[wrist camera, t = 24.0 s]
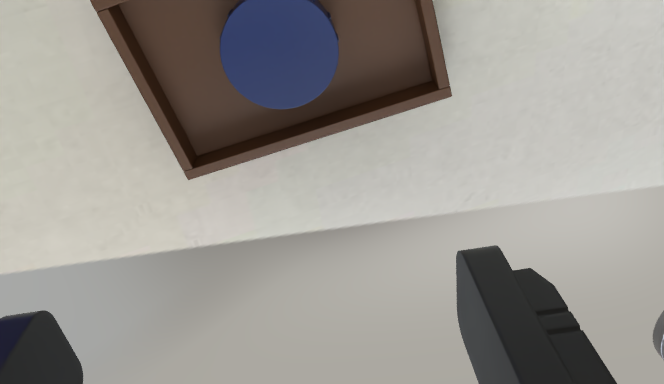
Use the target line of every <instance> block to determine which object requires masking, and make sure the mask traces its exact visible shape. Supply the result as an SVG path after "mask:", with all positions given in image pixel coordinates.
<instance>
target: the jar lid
mask: <svg viewBox="0 0 664 384" xmlns="http://www.w3.org/2000/svg"><path fill="white" fill-rule="evenodd" d="M227 17H228V19H227V21H226V23H225V25H224V28H223V30H222V33H221V36H220V57H221V62H222V66H223V69H224V71H225V73H226V76H227V77H228V79H229V81H230V82H231V84H232V85H233V86H234V88H235V89H236V90H237V91H238V92H239V93H240V94H242V95H243V96H244V97H245V98H247V99H249V100H250V101H252V102H254V103H256V104H258V105H261V106H264V107H267V108H272V109H290V108H295V107H299V106H302V105H304V104H306V103H309V102H310V101H312V100H314V99H315V98H316V97H318V96H319V95H320V94H321V93H322V92H323V91H324V90H325V89H326V88H327V86H328V85H329V84H330V82H331V80H332V78H333V76H334V74H335V71H336V68H337V65H338V57H339V47H338V42H339V38H338V34H337V33H336V32H335V29H334V25H333V22H332V20H331V15H330V12H327V11H326V9H325V8H324V7H323V5H322V4H321V3H320V2H319V1H318V0H240V1H239V2H238V3H237V4H236V5H235V6H234V8H233V10H232V9H230V11H229V13H228V15H227Z"/></svg>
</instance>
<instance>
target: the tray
mask: <svg viewBox="0 0 664 384" xmlns="http://www.w3.org/2000/svg"><path fill="white" fill-rule="evenodd" d="M90 1H91V3H92V5H93V7H94V9H95V10H96V12H97V14H98V16H99V18H100V20H101V21H102V23H103V25H104V27H105V29H106V31H107V32H108V34H109V36H110V38H111V40H112V42H113V43H114V45H115V47H116V49H117V51H118V53H119V54H120V56H121V58H122V60H123V62H124V63H125V65H126V67H127V69H128V71H129V73H130V74H131V76H132V78H133V80H134V82H135V84H136V85H137V87H138V89H139V91H140V93H141V95H142V96H143V98H144V100H145V102H146V104H147V105H148V107H149V109H150V111H151V113H152V115H153V116H154V118H155V120H156V122H157V124H158V126H159V127H160V129H161V131H162V133H163V135H164V136H165V138H166V140H167V142H168V144H169V146H170V147H171V149H172V151H173V153H174V155H175V157H176V158H177V160H178V162H179V164H180V166H181V168H182V169H183V171H184V173H185V175H186V177H187V179H188V180H190V179H193V178H196V177H199V176H203V175H206V174H209V173H212V172H215V171H218V170H222V169H225V168H228V167H231V166H234V165H237V164H240V163H244V162H247V161H250V160H253V159H256V158H259V157H262V156H266V155H269V154H272V153H275V152H278V151H281V150H284V149H288V148H291V147H294V146H297V145H300V144H303V143H307V142H310V141H313V140H316V139H319V138H322V137H325V136H329V135H332V134H335V133H338V132H341V131H344V130H347V129H351V128H354V127H357V126H360V125H363V124H366V123H370V122H373V121H376V120H379V119H382V118H385V117H388V116H392V115H395V114H398V113H401V112H404V111H407V110H410V109H414V108H417V107H420V106H423V105H426V104H429V103H432V102H436V101H439V100H442V99H445V98H448V97H451V96H452V94H451V89H450V86H449V85H450V84H449V79H448V74H447V70H446V65H445V60H444V55H443V50H442V45H441V40H440V35H439V30H438V25H437V21H436V16H435V11H434V6H433V1H432V0H318V1H319V2H320V3H321V4H322V5H323V7H324V8H325V9H326V11H327V12H330V15H331V20H332V22H333V25H334V29H335V32H336V33H337V34H338V38H339V42H338V47H339V57H338V65H337V68H336V71H335V74H334V76H333V78H332V80H331V82H330V84H329V85H328V86H327V88H326V89H325V90H324V91H323V92H322V93H321V94H320V95H319V96H318V97H316V98H315V99H314V100H312V101H310V102H309V103H306V104H304V105H302V106H299V107H295V108H290V109H272V108H267V107H264V106H261V105H258V104H256V103H254V102H252V101H250V100H249V99H247V98H245V97H244V96H243V95H242V94H240V93H239V92H238V91H237V90H236V89H235V88H234V86H233V85H232V84H231V82H230V81H229V79H228V77H227V76H226V73H225V71H224V69H223V66H222V62H221V57H220V36H221V33H222V30H223V28H224V25H225V23H226V21H227V19H228V17H227V15H228V13H229V11H230V9H232V10H233V8H234V6H235V5H236V4H237V3H238V2H239V1H240V0H90Z"/></svg>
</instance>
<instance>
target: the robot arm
mask: <svg viewBox="0 0 664 384" xmlns="http://www.w3.org/2000/svg"><path fill="white" fill-rule="evenodd" d="M456 269H457V270H456V274H457V314H458V321H459V327H460V330H461V335H462V338H463V341H464V344H465V347H466V349H467V352H468V355H469V358H470V360H471V363H472V366H473V369H474V372H475V374H476V377H477V380H478V382H479V384H617V383H616V381H615V380H614V378H613V377H612V375H611V374H610V372H609V371H608V369H607V367H606V366H605V364H604V363H603V361H602V360H601V358H600V356H599V355H598V353H597V352H596V350H595V349H594V347H593V346H592V344H591V343H590V341H589V339H588V338H587V336H586V335H585V333H584V332H583V331H581V330H580V325H579V324H578V322H577V321H576V319H575V318H574V316H573V314H572V313H571V312H569V311H568V307H567V305H566V304H565V302H564V300H563V299H562V297H561V296H560V294H559V293H558V291H557V290H556V288H555V286H554V285H553V284H551V283H550V282H549V281H547V280H546V279H545V278H543V277H542V276H541V275H539V274H538V273H537V272H535V271H534V270H532V269H531V268H528V269H521V270H514V271H512V269H511V267H510V265H509V263H508V262H507V260H506V258H505V256H504V255H503V253H502V251H501V250H500V248H499V247H498V246H489V247H482V248H476V249H468V250H461V251H458V252H457V256H456ZM0 384H83V371H82V366H81V363H80V361H79V359H78V358H77V356H76V355H75V352H74V351H73V349H72V347H71V346H70V344H69V342H68V340H67V339H66V337H65V335H64V334H63V332H62V330H61V329H60V327H59V325H58V323H57V321H56V320H55V318H54V317H53V315H52V314H51V313H49V312H48V311H37V312H30V313H23V314H16V315H10V316H5V317H2V318H1V319H0Z"/></svg>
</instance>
